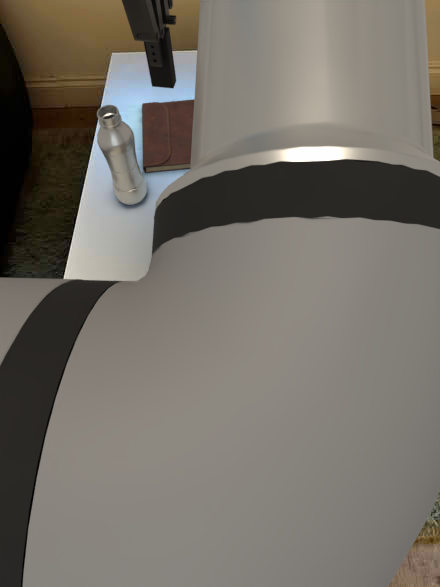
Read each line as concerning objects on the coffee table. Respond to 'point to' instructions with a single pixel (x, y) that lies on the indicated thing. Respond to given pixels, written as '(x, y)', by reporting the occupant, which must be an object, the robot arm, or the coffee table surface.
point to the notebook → (167, 135)
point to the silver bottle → (120, 155)
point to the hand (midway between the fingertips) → (164, 83)
